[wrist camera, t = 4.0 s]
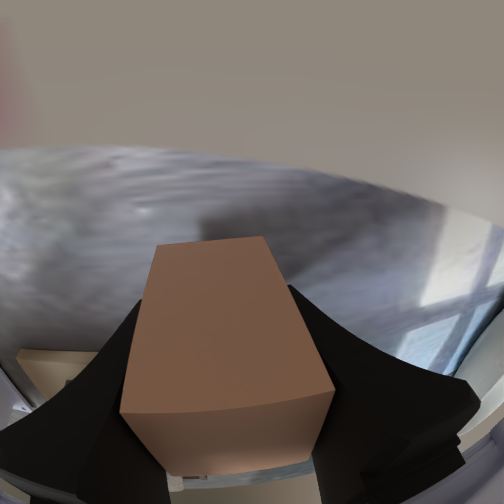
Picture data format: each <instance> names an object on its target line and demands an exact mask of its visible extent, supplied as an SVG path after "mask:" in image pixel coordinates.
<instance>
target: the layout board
mask: <svg viewBox="0 0 504 504" xmlns="http://www.w3.org/2000/svg"><path fill="white" fill-rule="evenodd" d="M97 354H98V352H73V351H49V350H34V349H20V351H19V353H18V355H17V357H16V360H17V362H18V363H19V365H20V366H21V367H22V369H23V370H24V372H25V373H26V374H27V376H28V377H29V379H30V380H31V381H32V383H33V384H34V385H35V387H36V388H37V389H38V390H39V392H40V393H41V394H42V396H43V397H44V398H45V399H46V400H47V401H48V400H49V399H51V398H52V397H53V396H54V395H56V394H57V393H58V392H59V391H60V390H61V389H62V388H64V387H65V386H66V385H67V384H68V383H69V382H71V381H72V380H73V379H74V378H75V377H76V376H77V375H78V374H79V373H80V372H81V371H82V370H83V369H84V368H85V367H86V366H87V365H88V364H89V363H90V362H91V361H92V359H93V358H94V357H95V356H96V355H97ZM199 480H207V476H183V481H199Z"/></svg>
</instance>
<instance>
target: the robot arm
mask: <svg viewBox="0 0 504 504" xmlns="http://www.w3.org/2000/svg"><path fill="white" fill-rule="evenodd" d="M287 286H288V288H289V291H290V293H291V295H292V297H293V299H294V301H295V303H296V305H297V308H298V310H299V312H300V314H301V316H302V318H303V320H304V322H305V325H306V327H307V329H308V331H309V333H310V335H311V338H312V340H313V342H314V344H315V346H316V348H317V351H318V353H319V355H320V357H321V359H322V361H323V364H324V366H325V368H326V370H327V372H328V375H329V377H330V379H331V381H332V383H333V386H334V388H335V392H334V395H333V398H332V401H331V404H330V407H329V409H328V412H327V415H326V417H325V420H324V423H323V425H322V428H321V430H320V433H319V435H318V438H317V440H316V443H315V445H314V447H313V450H312V452H311V454H312V458H313V463H314V467H315V471H316V475H317V481H318V486H319V491H320V496H321V501H322V504H504V418H503V419H502V420H501V421H500V422H498V424H497V425H495V426H494V427H493V429H491V431H490V432H489V433H488V434H487V435H485V436H484V437H483V438H482V439H480V440H479V441H478V442H476V443H475V444H474V445H473V446H471V447H470V448H468V449H467V450H466V451H464V452H463V453H460V451H459V449H458V448H457V446H458V445H459V444H460V443H461V440H460V439H459V437H458V435H457V433H458V432H459V431H460V430H461V429H462V428H463V427H464V426H465V425H466V424H467V423H468V422H469V421H470V420H471V419H472V418H473V417H474V415H475V414H476V413H477V412H478V410H479V409H480V406H481V400H480V399H479V397H478V396H477V394H476V393H475V392H474V390H473V389H472V388H471V386H470V385H469V383H468V382H467V381H466V380H463V379H459V378H454V377H450V376H446V375H442V374H438V373H435V372H432V371H429V370H426V369H423V368H420V367H417V366H414V365H412V364H409V363H407V362H404V361H402V360H400V359H398V358H395V357H393V356H391V355H389V354H387V353H385V352H383V351H381V350H379V349H377V348H375V347H373V346H372V345H370V344H368V343H366V342H365V341H363V340H361V339H360V338H358V337H356V336H355V335H353V334H352V333H350V332H349V331H347V330H346V329H345V328H343V327H342V326H340V325H339V324H337V323H336V322H335V321H333V320H332V319H331V318H330V317H328V316H327V315H326V314H324V313H323V312H322V311H321V310H320V309H318V308H317V307H316V306H315V305H314V304H312V303H311V302H310V301H309V300H308V299H307V298H305V297H304V296H303V295H302V294H301V293H300V292H299V291H297V290H296V289H295V288H294V287H293V286H292V285H287ZM141 302H142V299H140V300H139V301H138V303H137V304H136V305H135V306H134V308H133V309H132V310H131V312H130V313H129V314H128V316H127V317H126V318H125V320H124V321H123V322H122V324H121V325H120V326H119V328H118V329H117V330H116V332H115V333H114V334H113V335H112V337H111V338H110V339H109V341H108V342H107V343H106V344H105V345H104V346H103V348H102V349H101V350H100V351H99V352H98V354H97V355H96V356H95V357H94V358H93V359H92V361H91V362H90V363H89V364H88V365H87V366H86V367H85V368H84V369H83V370H82V371H81V372H80V373H79V374H78V375H77V376H76V377H75V378H74V379H73V380H72V381H71V382H69V383H68V384H67V385H66V386H65V387H64V388H62V389H61V390H60V391H59V392H58V393H57V394H56V395H54V396H53V397H52V398H51V399H49V400H48V401H47V402H45V403H44V404H43V405H41V406H40V407H39V408H37V409H36V410H34V411H33V408H32V407H31V405H30V404H29V403H28V402H27V401H26V400H25V399H24V397H23V396H22V395H21V394H20V392H19V391H18V390H17V389H16V387H15V386H14V385H13V384H12V382H11V381H10V380H9V378H8V377H7V376H6V374H5V373H4V372H3V370H2V369H1V368H0V477H1V478H2V479H4V480H5V481H7V482H8V483H10V484H11V485H13V486H15V487H16V488H18V489H20V490H21V491H23V492H25V493H26V494H28V495H30V496H31V497H30V504H171V501H170V496H169V489H168V482H167V475H166V470H165V469H164V468H163V466H162V465H161V464H160V463H159V462H158V461H157V460H156V459H155V457H154V456H153V455H152V454H151V453H150V452H149V450H148V449H147V448H146V447H145V445H144V444H143V443H142V442H141V441H140V439H139V438H138V437H137V435H136V434H135V433H134V432H133V430H132V429H131V428H130V426H129V425H128V424H127V422H126V421H125V420H124V418H123V417H122V415H121V414H120V406H121V399H122V393H123V387H124V381H125V376H126V370H127V365H128V360H129V355H130V350H131V345H132V341H133V336H134V332H135V327H136V323H137V319H138V315H139V310H140V306H141ZM12 409H17V410H21V411H25V412H29V413H30V414H28V415H27V416H25V417H24V418H22V419H20V420H19V421H17V422H15V423H13V424H12V425H10V426H8V427H7V424H8V421H9V418H10V415H11V412H12ZM0 504H27V503H25V502H22V501H20V500H18V499H16V498H14V497H11V496H9V495H7V494H5V493H3V491H2V490H1V488H0Z"/></svg>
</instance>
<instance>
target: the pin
mask: <svg viewBox="0 0 504 504" xmlns="http://www.w3.org/2000/svg"><path fill="white" fill-rule="evenodd" d="M166 475H167V482H168V489H169V491H181V490H183V476H171V475H170V474H169V473H168V472H167V471H166Z"/></svg>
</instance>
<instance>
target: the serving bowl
mask: <svg viewBox="0 0 504 504" xmlns="http://www.w3.org/2000/svg"><path fill="white" fill-rule="evenodd" d="M454 378H459V379H463V380H466V381H467V382H468V383H469V385H470V386H471V388H472V389H473V390H474V392H475V393H476V394H477V396H478V397H479V399H480V400H481V406H480V409H479V410H478V412H477V413H476V414H475V415H474V417H473V418H472V419H471V420H470V421H469V422H468V423H467V424H466V425H465V426H464V427H463V428H462V429H461V430H460V431H459V432H458V433H457V435H458V437H459V436H461V435H463V434H465V433H466V432H468V431H469V430H471V429H472V428H474V427H475V426H476V425H478V424H479V423H480V422H482V421H483V420H484V419H485V418H486V417H488V416H489V415H490V414H491V413H492V412H493V411H494V410H496V409H497V408H498V407H499V406H500V405H501V404H502V403H503V402H504V309H503V310H502V311H501V312H500V313H499V314H498V315H497V316H496V317H495V318H494V319H493V320H492V321H491V322H490V324H489V325H488V326H487V327H486V328H485V330H484V331H483V332H482V333H481V335H480V336H479V337H478V339H477V340H476V341H475V343H474V344H473V346H472V348H471V349H470V351H469V353H468V354H467V356H466V357H465V359H464V361H463V362H462V364H461V365H460V367H459V369H458V370H457V372H456V374H455V376H454Z"/></svg>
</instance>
